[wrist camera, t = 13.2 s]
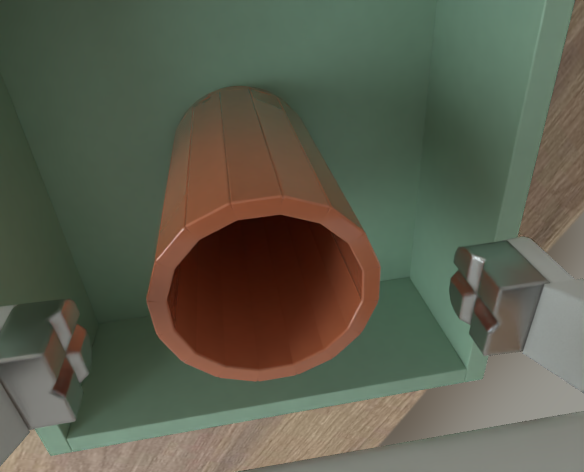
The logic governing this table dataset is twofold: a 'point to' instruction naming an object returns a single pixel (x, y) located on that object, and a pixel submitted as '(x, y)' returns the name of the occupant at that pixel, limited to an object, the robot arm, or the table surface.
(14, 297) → the open box
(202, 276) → the cup
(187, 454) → the table surface
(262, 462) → the table surface
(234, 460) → the table surface
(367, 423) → the table surface
